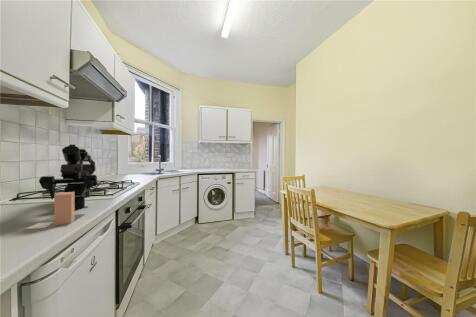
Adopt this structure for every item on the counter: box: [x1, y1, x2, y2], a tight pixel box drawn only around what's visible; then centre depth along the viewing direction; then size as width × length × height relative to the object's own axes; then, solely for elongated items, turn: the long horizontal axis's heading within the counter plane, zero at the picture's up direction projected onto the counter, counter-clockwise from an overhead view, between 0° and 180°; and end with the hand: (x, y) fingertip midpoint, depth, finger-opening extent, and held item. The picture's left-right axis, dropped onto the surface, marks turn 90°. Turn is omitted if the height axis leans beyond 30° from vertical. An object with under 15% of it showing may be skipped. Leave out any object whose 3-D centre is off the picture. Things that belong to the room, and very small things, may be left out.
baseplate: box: [24, 213, 86, 231], centre depth 75 cm, size 15×12×1 cm
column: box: [53, 192, 76, 226], centre depth 74 cm, size 5×5×12 cm
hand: (66, 197), depth 76 cm, fingers open, 9 cm apart
